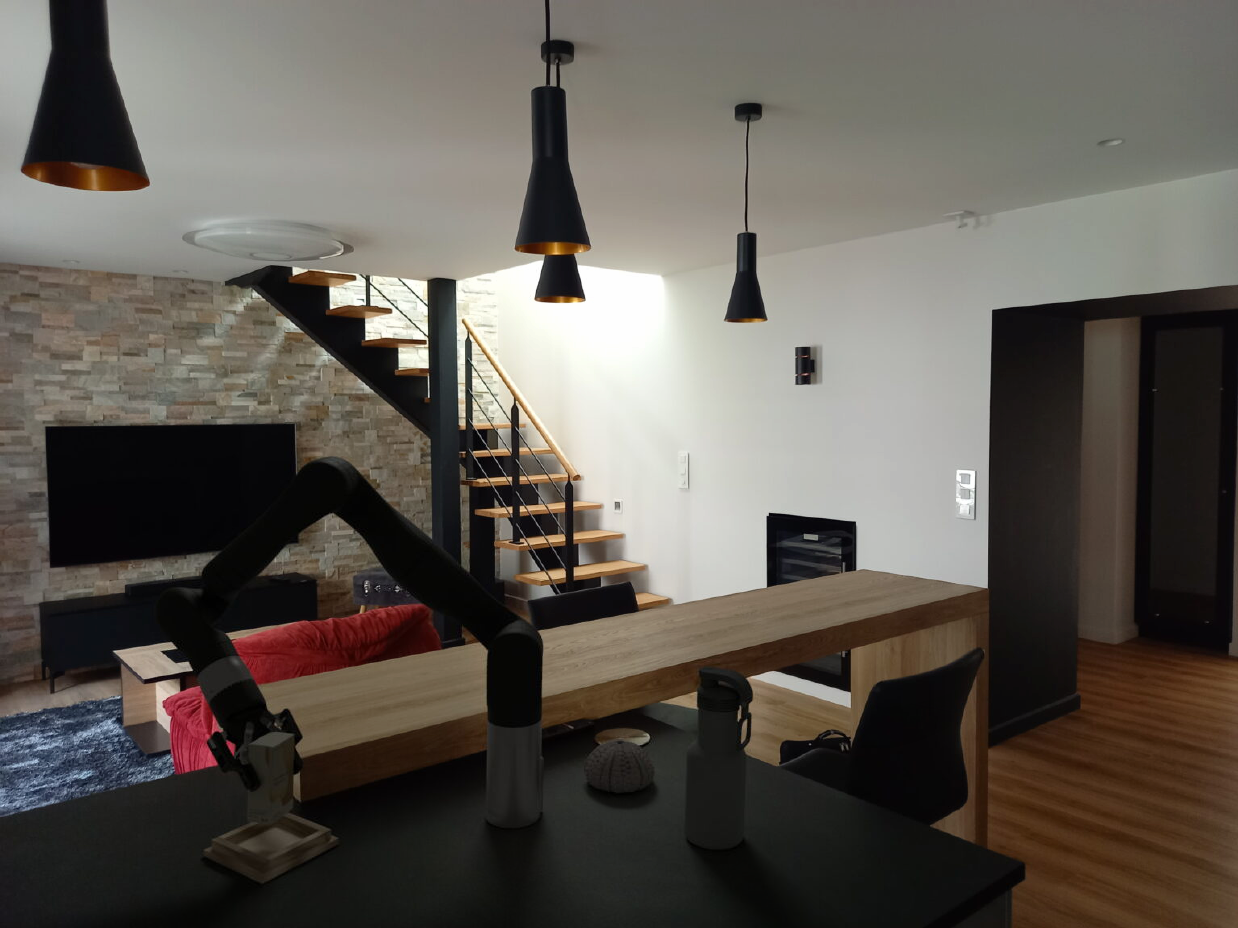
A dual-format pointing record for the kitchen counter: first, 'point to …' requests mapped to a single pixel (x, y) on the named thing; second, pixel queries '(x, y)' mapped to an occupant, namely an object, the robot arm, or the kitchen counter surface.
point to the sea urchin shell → (619, 767)
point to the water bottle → (718, 761)
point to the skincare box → (271, 777)
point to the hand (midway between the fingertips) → (278, 779)
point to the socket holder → (270, 846)
